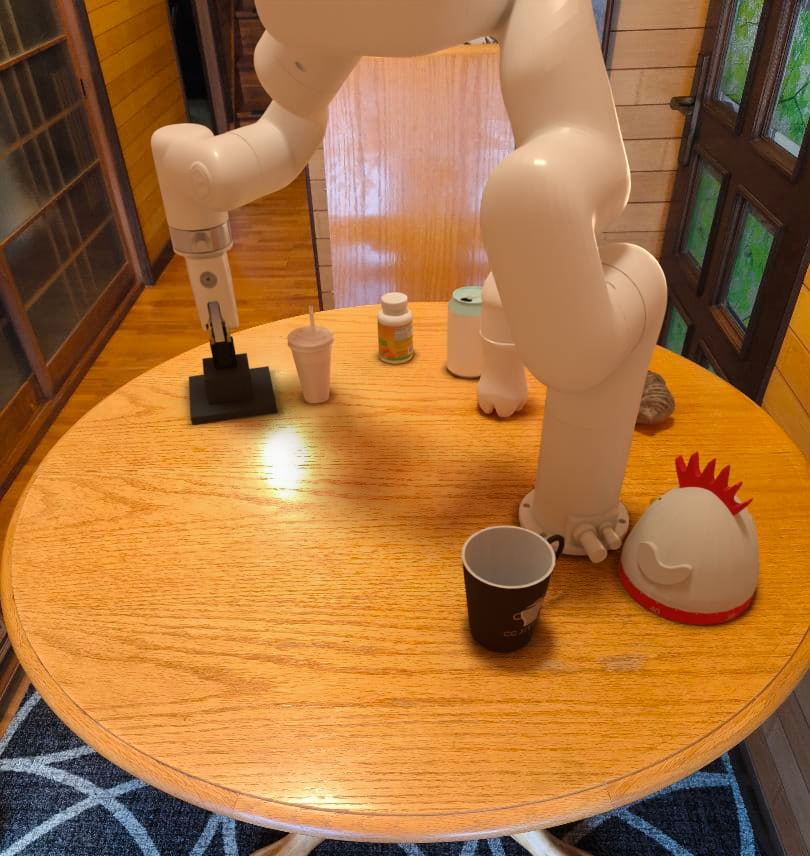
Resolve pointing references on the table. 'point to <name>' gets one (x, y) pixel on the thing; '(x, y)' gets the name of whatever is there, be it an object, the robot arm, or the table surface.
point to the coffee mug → (506, 584)
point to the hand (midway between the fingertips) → (226, 365)
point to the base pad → (234, 409)
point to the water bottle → (499, 358)
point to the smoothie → (312, 359)
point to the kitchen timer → (693, 549)
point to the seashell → (655, 400)
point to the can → (465, 332)
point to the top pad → (228, 381)
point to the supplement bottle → (395, 329)
